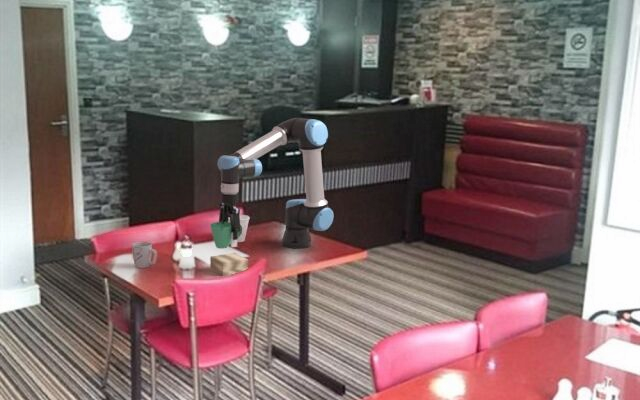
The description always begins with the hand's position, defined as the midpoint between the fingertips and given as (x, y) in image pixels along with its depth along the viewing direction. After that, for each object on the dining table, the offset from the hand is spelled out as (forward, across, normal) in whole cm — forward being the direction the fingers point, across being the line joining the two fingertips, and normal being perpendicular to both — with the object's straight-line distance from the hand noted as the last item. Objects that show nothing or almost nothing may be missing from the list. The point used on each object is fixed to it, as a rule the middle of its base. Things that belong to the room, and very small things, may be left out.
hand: (229, 244), depth 297 cm
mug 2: (+1, 0, -1) cm, 1 cm away
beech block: (+12, 0, 0) cm, 12 cm away
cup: (+12, -43, +28) cm, 53 cm away
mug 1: (+12, -23, -29) cm, 39 cm away
